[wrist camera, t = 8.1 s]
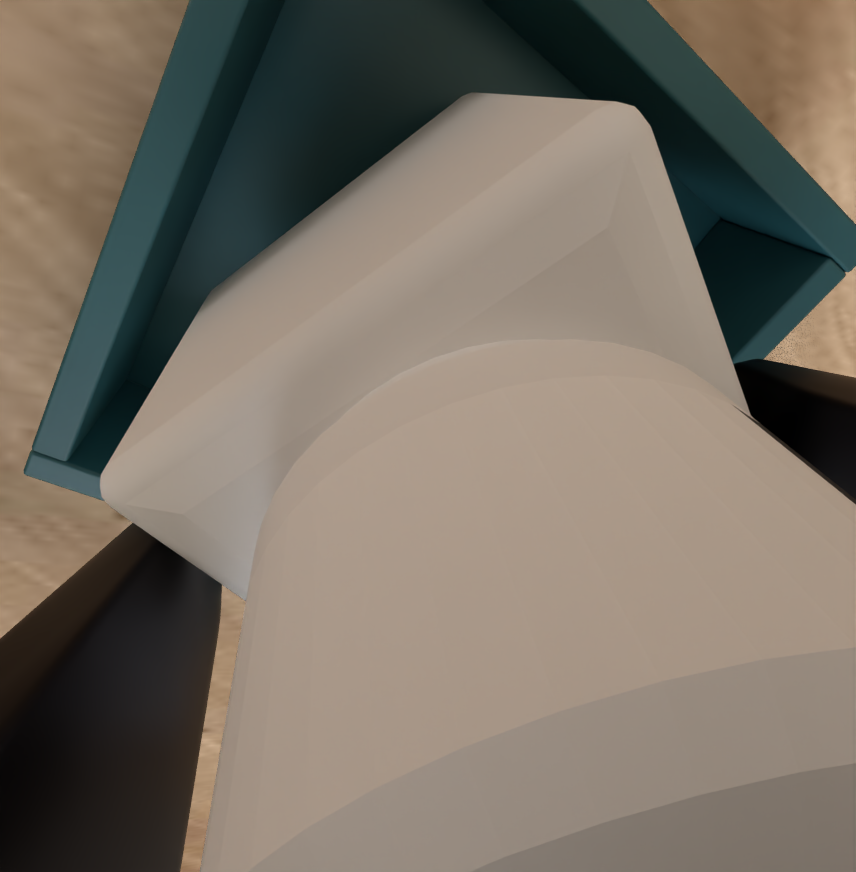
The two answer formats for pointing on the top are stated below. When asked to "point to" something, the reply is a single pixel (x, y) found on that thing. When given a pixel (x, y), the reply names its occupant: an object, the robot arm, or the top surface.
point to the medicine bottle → (503, 529)
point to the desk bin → (377, 136)
